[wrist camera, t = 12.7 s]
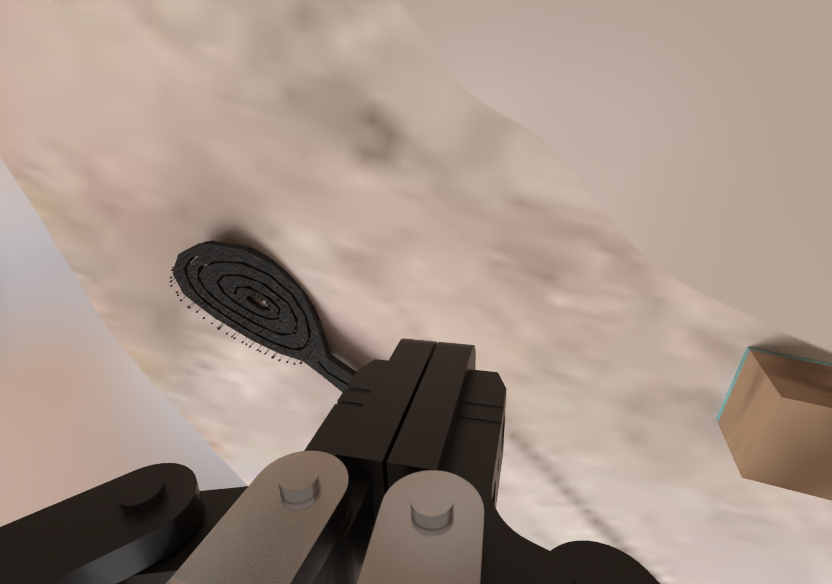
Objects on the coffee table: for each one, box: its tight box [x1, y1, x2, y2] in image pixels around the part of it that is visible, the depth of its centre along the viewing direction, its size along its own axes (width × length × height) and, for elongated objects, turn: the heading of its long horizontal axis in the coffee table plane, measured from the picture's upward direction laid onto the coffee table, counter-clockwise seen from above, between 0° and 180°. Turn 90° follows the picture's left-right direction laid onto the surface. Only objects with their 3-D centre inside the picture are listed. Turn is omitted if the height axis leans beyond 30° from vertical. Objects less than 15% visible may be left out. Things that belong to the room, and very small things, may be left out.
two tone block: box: [717, 347, 832, 500], centre depth 30 cm, size 6×6×6 cm
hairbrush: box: [170, 241, 356, 392], centre depth 41 cm, size 8×4×25 cm
